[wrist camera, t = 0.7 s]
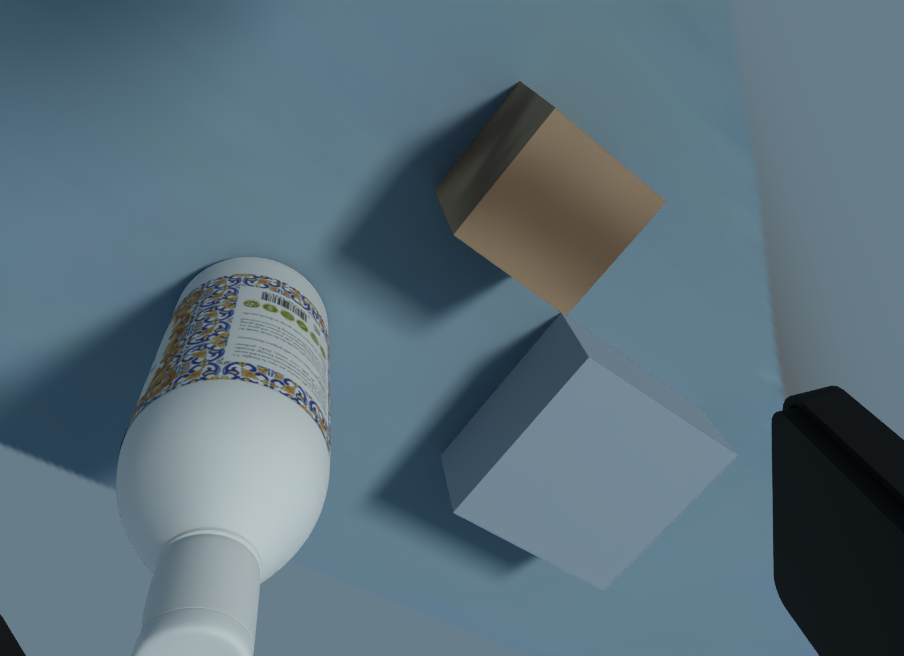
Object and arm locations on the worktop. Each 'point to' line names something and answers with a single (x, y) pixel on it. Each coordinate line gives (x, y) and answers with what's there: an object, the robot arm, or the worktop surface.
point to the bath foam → (226, 453)
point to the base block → (582, 456)
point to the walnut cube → (544, 200)
